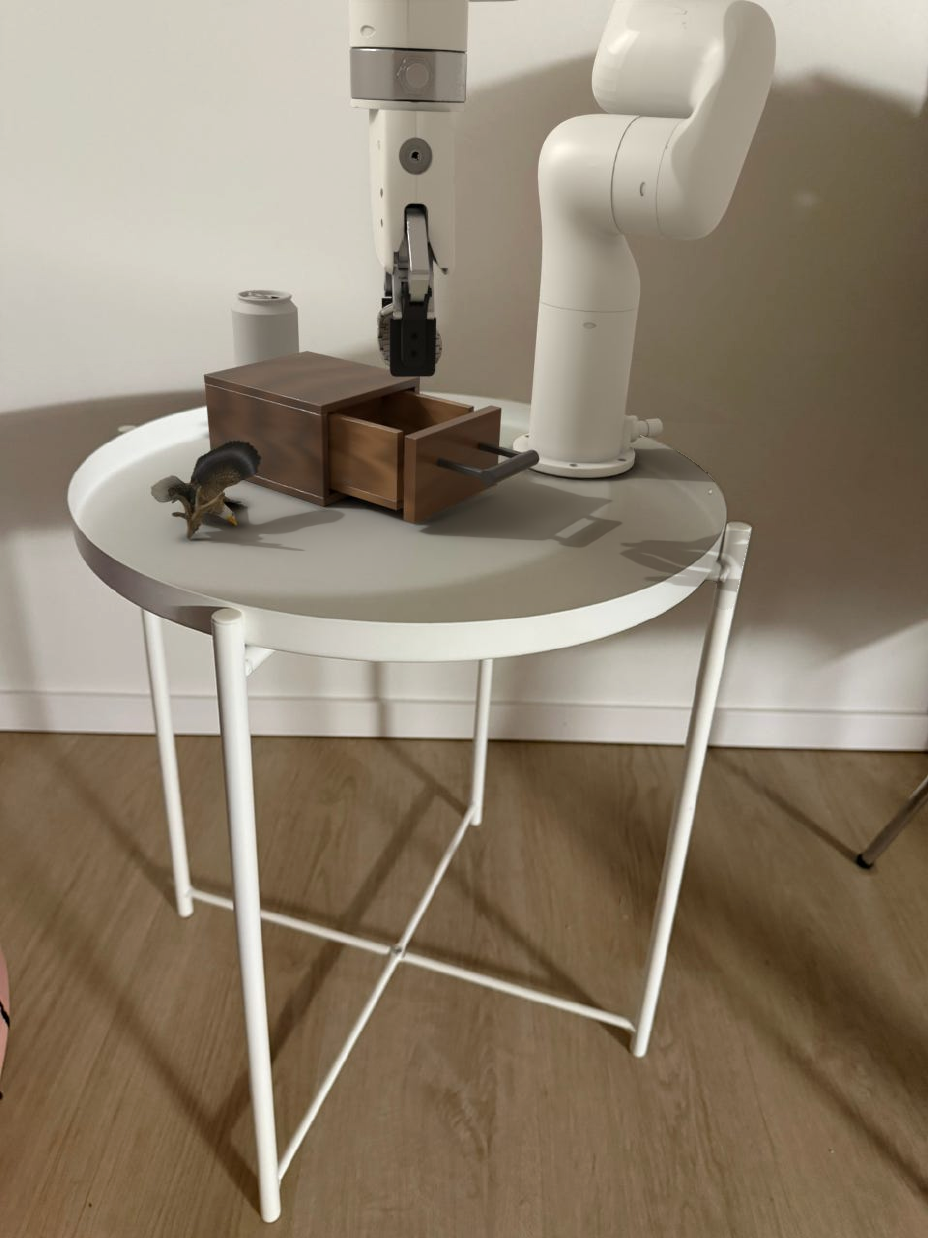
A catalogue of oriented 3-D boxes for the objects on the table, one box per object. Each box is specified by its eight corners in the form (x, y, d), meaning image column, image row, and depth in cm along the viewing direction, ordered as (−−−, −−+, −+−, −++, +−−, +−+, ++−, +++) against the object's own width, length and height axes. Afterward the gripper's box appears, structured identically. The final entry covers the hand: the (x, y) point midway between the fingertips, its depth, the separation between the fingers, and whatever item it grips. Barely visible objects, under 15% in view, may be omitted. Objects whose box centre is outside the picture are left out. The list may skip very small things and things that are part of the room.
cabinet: (418, 468, 95) (420, 376, 90) (323, 506, 85) (321, 405, 80) (310, 437, 102) (307, 350, 98) (211, 468, 92) (203, 374, 88)
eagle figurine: (256, 532, 76) (283, 475, 83) (197, 463, 73) (230, 409, 80) (186, 568, 79) (217, 510, 86) (126, 503, 76) (163, 448, 83)
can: (305, 404, 113) (301, 298, 107) (240, 406, 111) (233, 299, 105) (296, 387, 119) (292, 286, 113) (234, 389, 117) (227, 287, 111)
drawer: (551, 500, 86) (558, 421, 83) (472, 542, 77) (476, 455, 74) (385, 452, 96) (385, 379, 92) (297, 485, 87) (294, 405, 83)
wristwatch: (401, 357, 74) (401, 289, 72) (452, 375, 70) (454, 304, 67) (364, 363, 72) (362, 294, 70) (413, 382, 68) (414, 309, 65)
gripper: (488, 87, 55) (476, 396, 64) (447, 85, 70) (442, 336, 79) (358, 82, 54) (364, 397, 63) (344, 81, 69) (350, 336, 78)
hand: (407, 360), depth 71 cm, fingers closed on wristwatch, 5 cm apart
